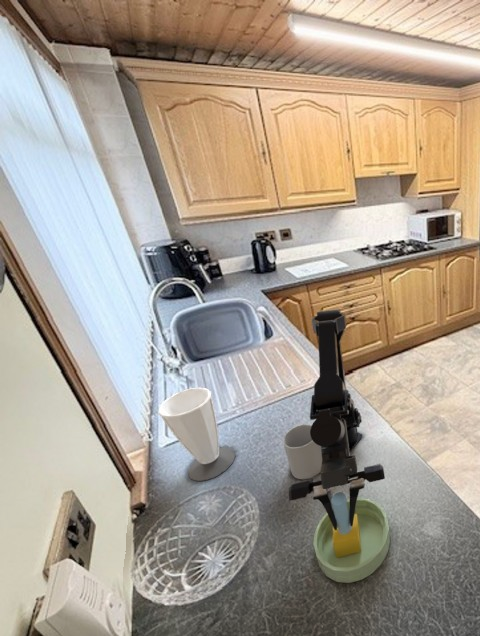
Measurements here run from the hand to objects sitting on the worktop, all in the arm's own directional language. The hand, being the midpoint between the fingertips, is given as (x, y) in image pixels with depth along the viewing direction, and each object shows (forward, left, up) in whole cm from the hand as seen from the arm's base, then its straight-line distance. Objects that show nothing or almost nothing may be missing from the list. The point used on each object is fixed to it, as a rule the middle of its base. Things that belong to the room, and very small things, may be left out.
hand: (343, 527), depth 69 cm
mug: (-16, -23, -8) cm, 29 cm away
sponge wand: (-1, -1, -7) cm, 7 cm away
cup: (-5, -49, -8) cm, 50 cm away
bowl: (-2, 0, -8) cm, 8 cm away
